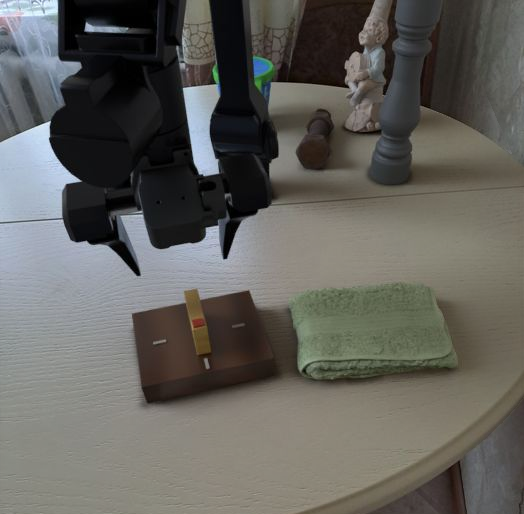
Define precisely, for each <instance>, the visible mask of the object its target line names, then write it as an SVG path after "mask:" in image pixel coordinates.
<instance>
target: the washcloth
mask: <svg viewBox="0 0 524 514" xmlns="http://www.w3.org/2000/svg"><path fill="white" fill-rule="evenodd" d="M288 307H289V309H290V316H291V320H292V328H293V329H294V331H295V333H296V336H297V341H298V345H297V353H296V354H297V369H298V372H299V373H300V375H301V376H303V377H305V378H309V379H313V380H314V379H315V380H318V381H320V380H322V381H324V380H336V379H337V378H340V379H342V378H343V379H346V378H350V379H365V378H372V377H376V376H377V377H378V376H383V375H390V374H391V375H392V374H397V373H409V372H414V371H420V370H421V371H422V370H426V369H428V368H430V369H439V368H440V369H442V368H447V369H448V368H449V369H450V370H451V369H453V368H456V367H458V363H459V360H458V355H457V353H456V350H455V349H454V345H453V341H452V337H451V335H450V331H449V326H448V324H447V322H446V320H445V317H444V314H443V312H442V310H441V309H440V308H439V306H438V303H437V301H436V297H435V289H434V287H432V286H428V285H425V284H424V283H421V284H420V283H406V282H405V283H402V282H392V283H387V284H383V283H381V284H380V285H379V284H375V285H366V286H363V285H362V286H357V287H355V286H352V287H342V288H336V287H330V288H323V289H315V290H309V289H308V290H305V291H304V292H303V291H302V292H299V293H295V294H293V295H292V296H291V297H290V298H289V299H288Z"/></svg>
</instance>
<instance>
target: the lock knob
mask: <svg viewBox="0 0 524 514" xmlns="http://www.w3.org/2000/svg"><path fill="white" fill-rule="evenodd" d="M183 295H184V302H185V303H186V306H187V311H188V316H189V321H190V325H191V330H192V334H193V338H194V343H195V347H196V351H197V355H201V354H206V353H211V348H210V342H209V336H208V329H207V325H206V321H205V317H204V313H203V309H202V305H201V302H200V300H201V297H200V294H199V291H198V288H192V289H187V290H184V291H183Z"/></svg>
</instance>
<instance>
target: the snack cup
mask: <svg viewBox="0 0 524 514" xmlns="http://www.w3.org/2000/svg"><path fill="white" fill-rule="evenodd" d="M253 65H254V80H255V85H256V86H257V88H258V89H259V90H260V92H261V93H262V95H263V96H264V97H265V99H266V100H267V102H268V106H269V104H270V97H271V87H272V81H273V78H274V76H275V67H274V63H273V62H272V61H270V60H269V59H267V58H264V57H260V56H253ZM212 74H213V79H214V82H215V84H216V86H217V90H218V96H219V97H220V88H219V80H218V72H217V64H216V63H215V65H214V66H213V68H212Z"/></svg>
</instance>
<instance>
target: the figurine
mask: <svg viewBox="0 0 524 514" xmlns="http://www.w3.org/2000/svg"><path fill="white" fill-rule="evenodd" d="M392 4H393V0H374V2H373V5H372V8H371V11H370V13H369V15H368V17H367V18H366V20H365V23H364V26H363V30H361V32H359V34H358V41H359V45H361V46H363V47H364V49H363V52H362V53H361V52H358V51H354V52H353V53H352V54H351V55H350V57H349V59H348V60H345V63H344V69H345V70H346V75H345V78H344V83H345V85H346V86H348V88H349V89H350V90H351V91H350V92H348V93H346V94H345V98H346V99H349V101H350V102H349V104H350V106H351V107H354V108H355V109H354V110H353V111H352V112H351V113H350V114H349V116H348V117H347V119H346V120H345V123H344V127H345V129H347V130H349V131H352V132H358V133H365V132H375V131H381V130H382V129H381V128H380V125H379V121H378V116H379V110H380V108H381V105H382V103H383V100H384V98H385V95H384V86H385V85H386V84H387V79H386V78H385V76H384V74H383V72H384V71H385V69H386V68H385V67H386V63H385V60H386V51H385V50H384V49H383V47H382V46H383V45H384V44H385V43H386V41H387V40H388V38H389V26H388V20H389V16H390V11H391V9H392Z"/></svg>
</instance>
